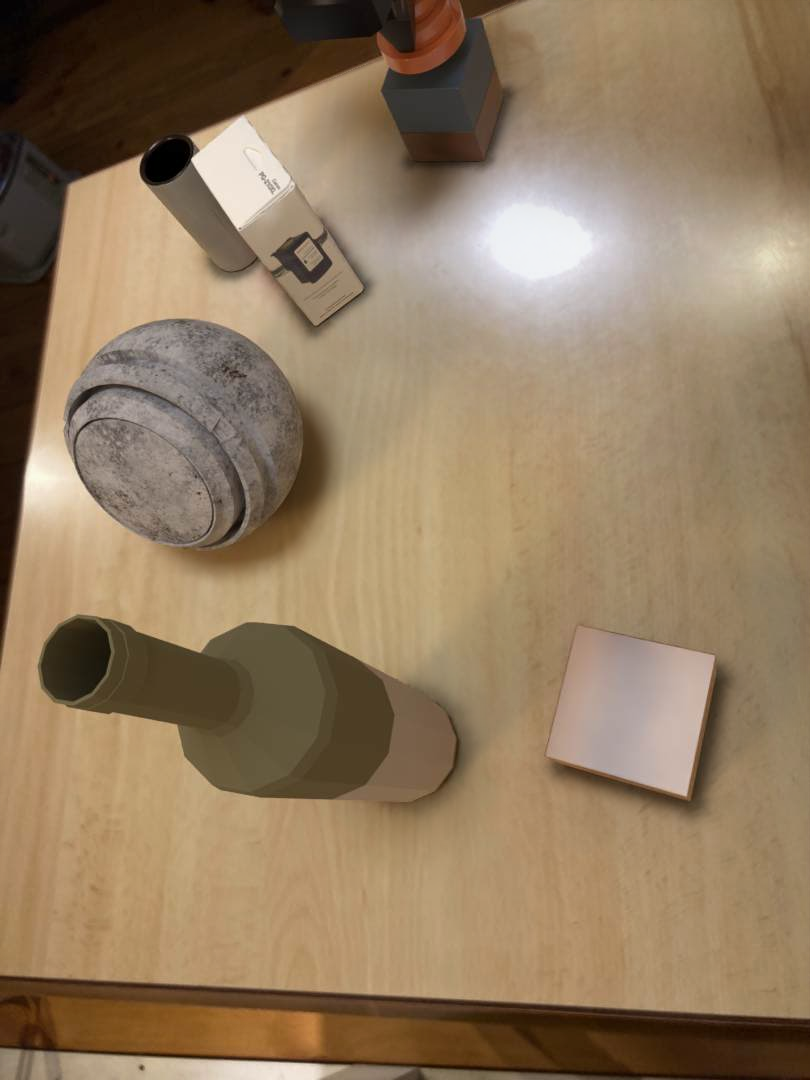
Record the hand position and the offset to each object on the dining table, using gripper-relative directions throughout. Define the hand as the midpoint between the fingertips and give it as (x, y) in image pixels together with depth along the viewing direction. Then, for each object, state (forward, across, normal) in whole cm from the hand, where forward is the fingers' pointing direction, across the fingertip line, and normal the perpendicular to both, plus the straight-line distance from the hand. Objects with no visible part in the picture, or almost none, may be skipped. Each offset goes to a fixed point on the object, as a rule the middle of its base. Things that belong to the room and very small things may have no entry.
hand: (418, 19), depth 56 cm
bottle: (+10, +46, +10) cm, 48 cm away
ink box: (+10, +14, -8) cm, 19 cm away
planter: (+10, +12, -16) cm, 22 cm away
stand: (+10, +40, +22) cm, 47 cm away
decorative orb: (+10, +30, -8) cm, 33 cm away
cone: (+2, 0, 0) cm, 2 cm away
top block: (+7, 0, 0) cm, 7 cm away
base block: (+10, 0, 0) cm, 10 cm away
